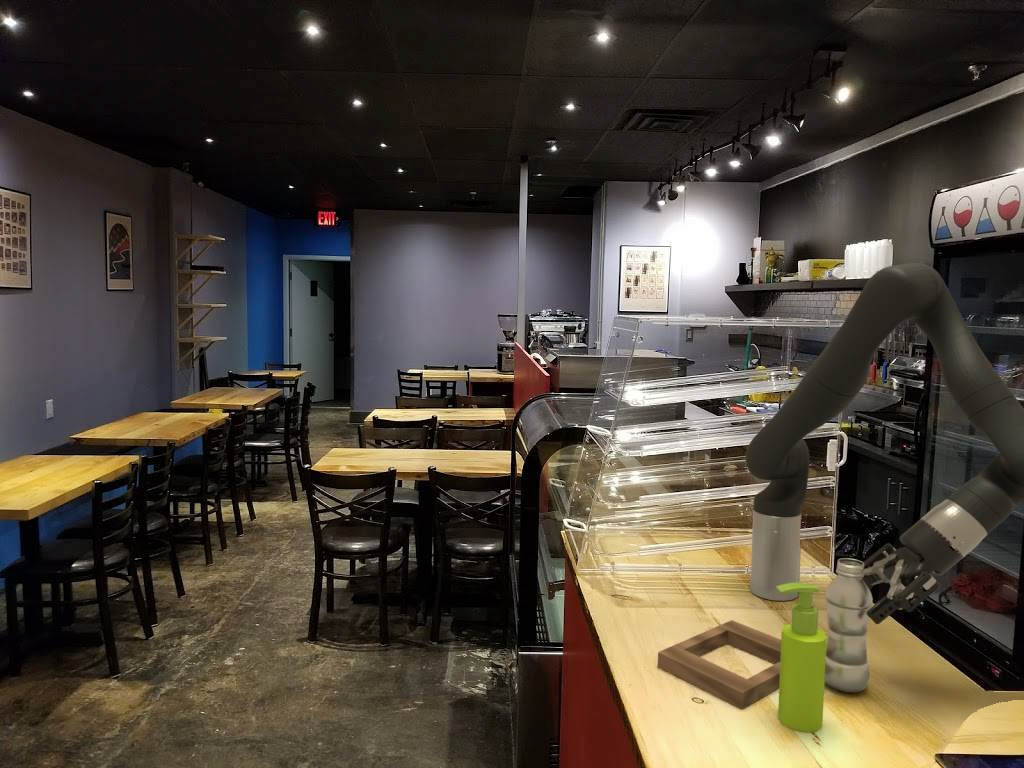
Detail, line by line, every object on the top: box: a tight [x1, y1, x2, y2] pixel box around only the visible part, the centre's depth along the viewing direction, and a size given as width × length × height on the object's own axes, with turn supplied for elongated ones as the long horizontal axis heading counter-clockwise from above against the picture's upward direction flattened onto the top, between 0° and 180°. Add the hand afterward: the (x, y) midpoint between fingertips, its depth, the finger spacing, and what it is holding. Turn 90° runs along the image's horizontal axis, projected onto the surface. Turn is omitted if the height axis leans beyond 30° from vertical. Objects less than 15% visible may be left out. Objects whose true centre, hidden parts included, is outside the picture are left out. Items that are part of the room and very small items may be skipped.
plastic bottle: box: [824, 557, 874, 693], centre depth 111 cm, size 6×7×20 cm
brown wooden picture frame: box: [657, 619, 781, 710], centre depth 118 cm, size 20×16×2 cm
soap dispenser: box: [776, 582, 828, 733], centre depth 102 cm, size 6×7×20 cm
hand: (859, 607), depth 111 cm, fingers open, 8 cm apart
